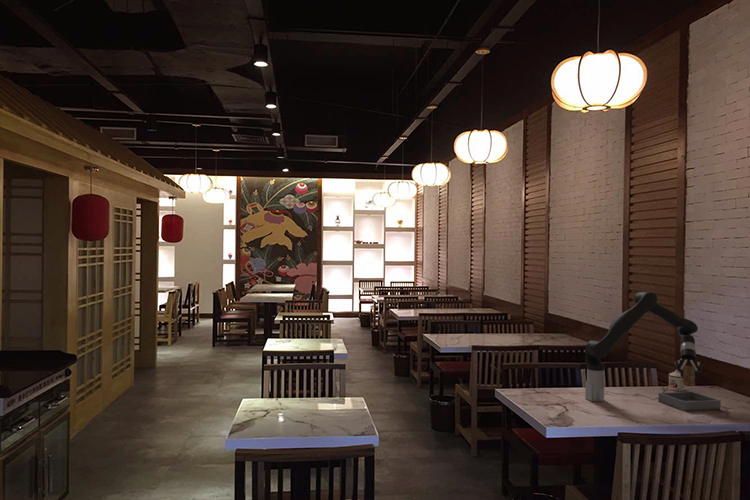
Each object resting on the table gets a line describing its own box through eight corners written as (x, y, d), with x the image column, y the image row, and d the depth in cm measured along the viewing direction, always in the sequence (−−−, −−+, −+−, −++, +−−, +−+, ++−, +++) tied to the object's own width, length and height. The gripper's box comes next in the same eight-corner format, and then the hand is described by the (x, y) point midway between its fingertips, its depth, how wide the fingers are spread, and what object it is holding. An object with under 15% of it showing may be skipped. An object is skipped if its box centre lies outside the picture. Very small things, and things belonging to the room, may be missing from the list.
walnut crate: (683, 384, 307) (683, 366, 307) (682, 382, 312) (682, 364, 312) (694, 386, 305) (695, 367, 305) (694, 383, 310) (694, 365, 310)
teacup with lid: (664, 388, 349) (665, 369, 349) (676, 387, 351) (677, 368, 351) (680, 392, 337) (680, 373, 337) (692, 392, 340) (692, 372, 340)
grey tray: (685, 411, 296) (685, 402, 296) (658, 401, 316) (658, 392, 316) (720, 409, 301) (720, 400, 301) (691, 400, 321) (692, 391, 321)
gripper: (673, 347, 319) (674, 372, 308) (703, 349, 312) (704, 374, 301) (673, 354, 323) (674, 379, 313) (702, 357, 317) (703, 382, 306)
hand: (689, 377), depth 307 cm, fingers closed on walnut crate, 5 cm apart
